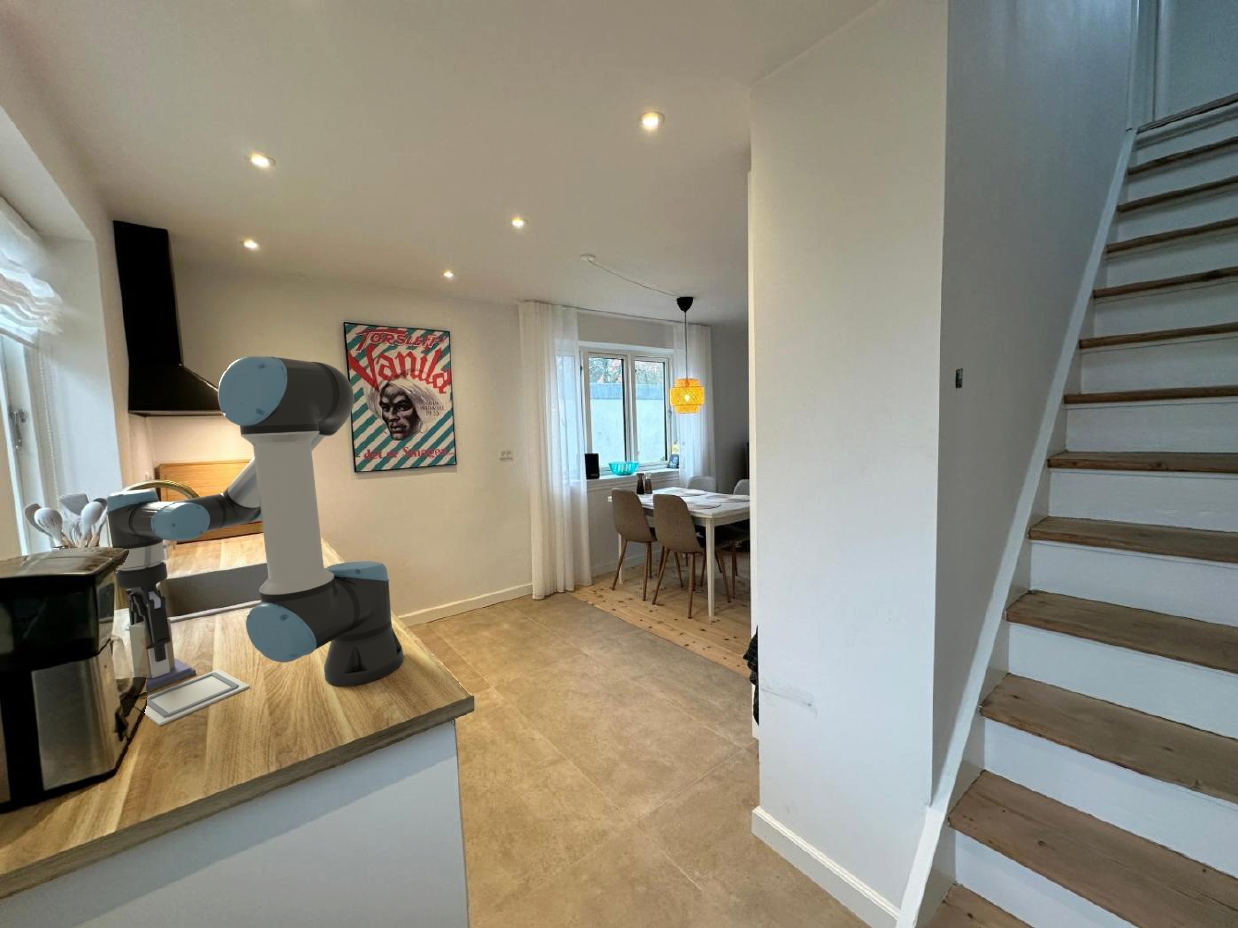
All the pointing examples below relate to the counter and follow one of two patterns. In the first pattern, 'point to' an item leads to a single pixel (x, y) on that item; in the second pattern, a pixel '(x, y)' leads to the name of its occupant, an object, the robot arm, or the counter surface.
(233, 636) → the counter surface
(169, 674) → the pad
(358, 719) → the counter surface
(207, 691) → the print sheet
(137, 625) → the box
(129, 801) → the counter surface
